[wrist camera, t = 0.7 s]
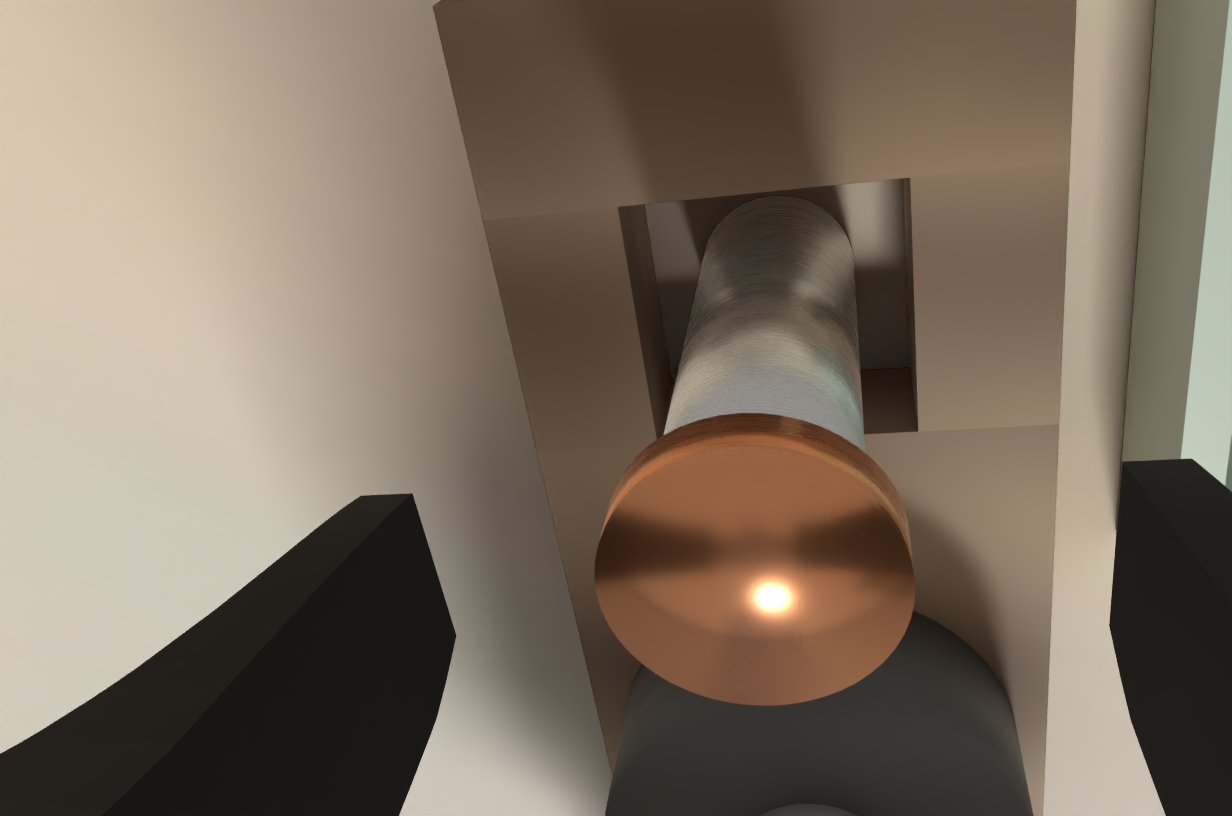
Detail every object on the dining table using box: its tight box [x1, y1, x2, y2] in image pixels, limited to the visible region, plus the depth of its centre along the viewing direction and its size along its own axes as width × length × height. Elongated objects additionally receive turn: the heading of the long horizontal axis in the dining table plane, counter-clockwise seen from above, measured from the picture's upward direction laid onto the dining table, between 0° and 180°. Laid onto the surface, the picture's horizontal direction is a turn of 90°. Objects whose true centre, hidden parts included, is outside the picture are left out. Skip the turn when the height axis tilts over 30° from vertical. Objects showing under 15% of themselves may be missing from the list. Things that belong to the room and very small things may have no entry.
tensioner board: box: [433, 0, 1077, 816], centre depth 18 cm, size 18×8×6 cm, turn 9°
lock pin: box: [594, 196, 915, 706], centre depth 15 cm, size 3×3×8 cm
